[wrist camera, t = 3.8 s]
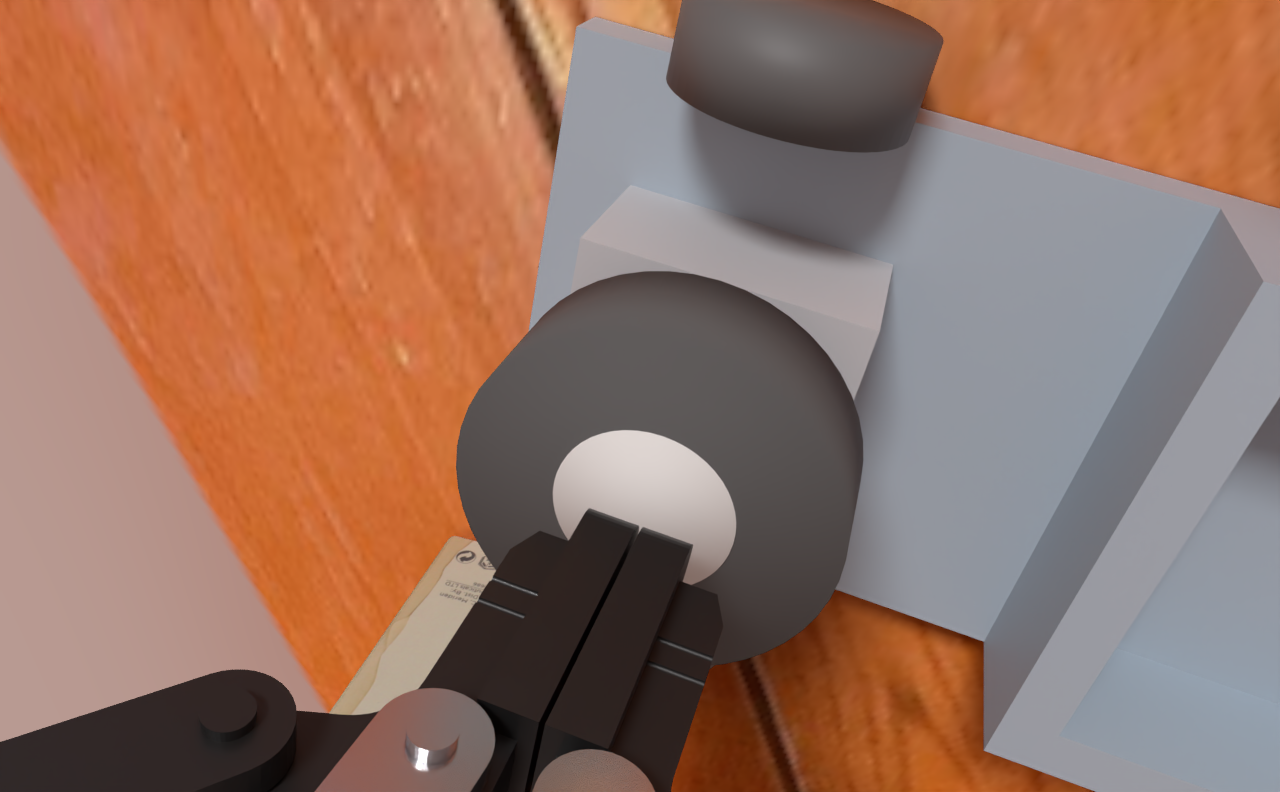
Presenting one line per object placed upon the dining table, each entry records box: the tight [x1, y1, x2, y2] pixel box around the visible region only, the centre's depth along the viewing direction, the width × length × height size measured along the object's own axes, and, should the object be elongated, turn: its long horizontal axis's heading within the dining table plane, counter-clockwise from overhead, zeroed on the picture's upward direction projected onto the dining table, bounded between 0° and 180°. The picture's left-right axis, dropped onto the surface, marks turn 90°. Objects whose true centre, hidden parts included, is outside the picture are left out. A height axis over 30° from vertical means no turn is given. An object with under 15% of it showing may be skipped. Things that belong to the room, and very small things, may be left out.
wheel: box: [456, 271, 863, 665], centre depth 16 cm, size 6×6×2 cm
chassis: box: [529, 0, 1280, 792], centre depth 18 cm, size 20×13×4 cm, turn 78°
